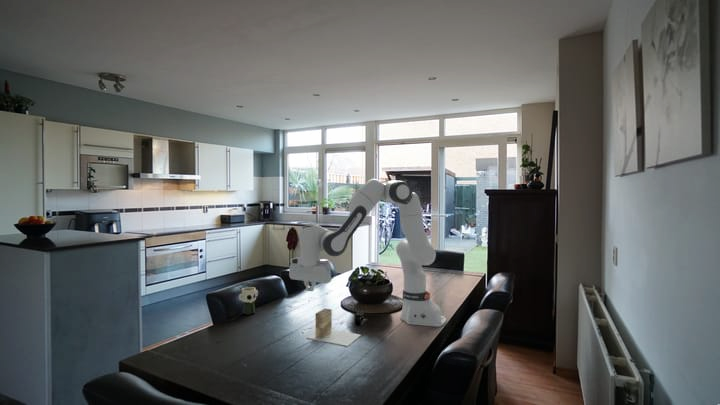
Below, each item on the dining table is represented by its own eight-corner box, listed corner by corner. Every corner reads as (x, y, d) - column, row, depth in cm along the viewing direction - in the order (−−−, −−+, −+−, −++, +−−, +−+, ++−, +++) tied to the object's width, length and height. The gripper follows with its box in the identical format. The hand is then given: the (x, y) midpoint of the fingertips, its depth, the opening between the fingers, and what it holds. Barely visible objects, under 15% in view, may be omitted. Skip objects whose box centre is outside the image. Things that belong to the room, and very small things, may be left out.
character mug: (243, 317, 188) (243, 291, 187) (235, 314, 192) (235, 289, 192) (261, 312, 196) (261, 287, 196) (253, 309, 201) (253, 285, 200)
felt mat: (360, 335, 165) (360, 334, 165) (347, 346, 153) (347, 345, 153) (321, 328, 173) (321, 327, 173) (306, 338, 162) (306, 337, 162)
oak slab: (331, 332, 168) (331, 309, 168) (322, 338, 161) (322, 314, 160) (324, 330, 169) (324, 308, 169) (315, 337, 162) (315, 313, 162)
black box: (361, 328, 176) (361, 318, 176) (347, 326, 178) (347, 316, 178) (369, 319, 187) (369, 310, 187) (356, 317, 190) (356, 309, 190)
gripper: (333, 260, 165) (333, 291, 166) (295, 257, 174) (295, 286, 174) (326, 263, 160) (326, 295, 160) (287, 259, 168) (287, 289, 169)
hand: (310, 290), depth 167 cm, fingers closed
